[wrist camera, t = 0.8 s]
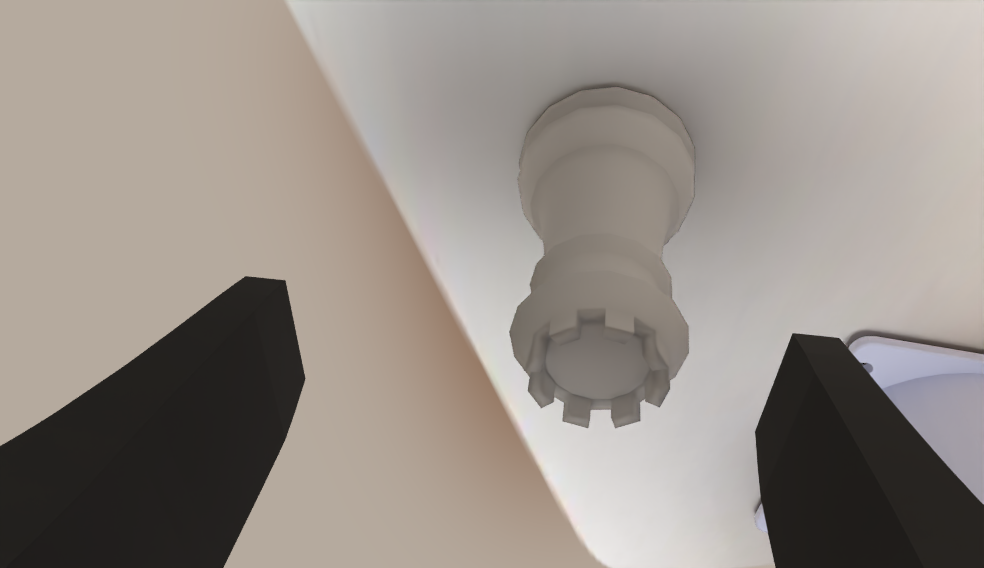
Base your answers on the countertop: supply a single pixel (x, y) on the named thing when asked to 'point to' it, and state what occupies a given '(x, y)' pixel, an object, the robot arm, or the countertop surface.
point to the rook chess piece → (603, 253)
